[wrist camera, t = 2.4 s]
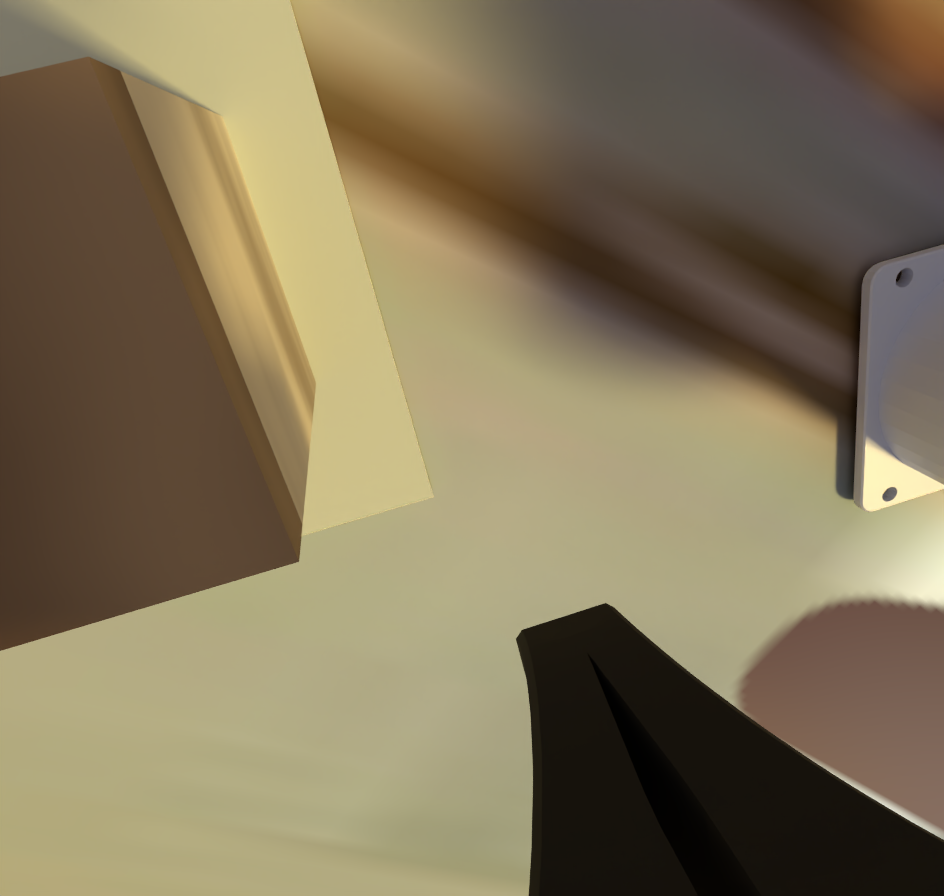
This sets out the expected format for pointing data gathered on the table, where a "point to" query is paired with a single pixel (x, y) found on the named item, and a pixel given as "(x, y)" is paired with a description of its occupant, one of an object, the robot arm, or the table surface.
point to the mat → (267, 211)
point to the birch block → (136, 357)
